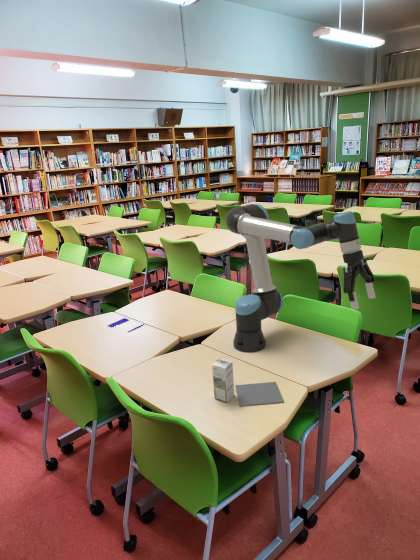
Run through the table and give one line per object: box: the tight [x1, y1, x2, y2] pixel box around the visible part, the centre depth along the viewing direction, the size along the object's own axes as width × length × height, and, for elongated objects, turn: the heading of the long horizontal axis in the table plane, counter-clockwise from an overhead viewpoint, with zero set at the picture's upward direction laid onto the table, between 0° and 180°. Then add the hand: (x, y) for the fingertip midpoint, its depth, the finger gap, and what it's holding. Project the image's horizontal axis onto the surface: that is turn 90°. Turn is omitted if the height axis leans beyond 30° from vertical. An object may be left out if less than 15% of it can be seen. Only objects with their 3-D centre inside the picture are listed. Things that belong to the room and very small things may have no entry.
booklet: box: [107, 317, 147, 333], centre depth 229 cm, size 12×25×1 cm, turn 52°
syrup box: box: [211, 358, 235, 403], centre depth 156 cm, size 6×6×14 cm
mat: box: [234, 381, 285, 407], centre depth 158 cm, size 14×16×1 cm
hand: (363, 303), depth 166 cm, fingers open, 13 cm apart
